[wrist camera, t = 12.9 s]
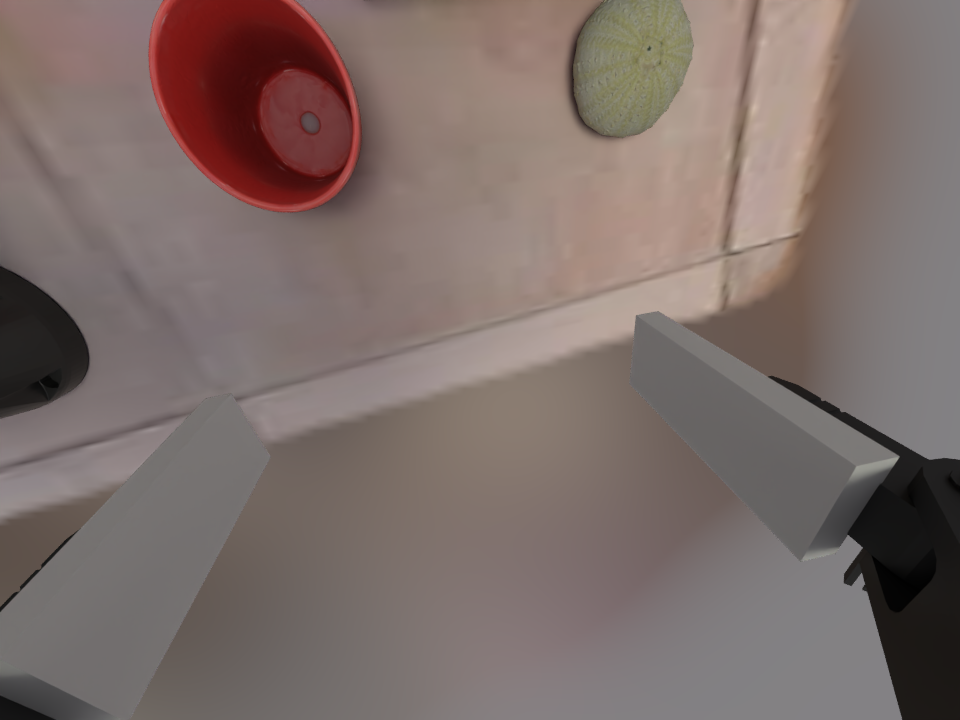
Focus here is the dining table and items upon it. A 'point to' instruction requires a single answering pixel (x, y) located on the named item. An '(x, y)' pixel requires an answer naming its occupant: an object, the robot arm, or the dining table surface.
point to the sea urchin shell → (630, 64)
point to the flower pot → (256, 99)
